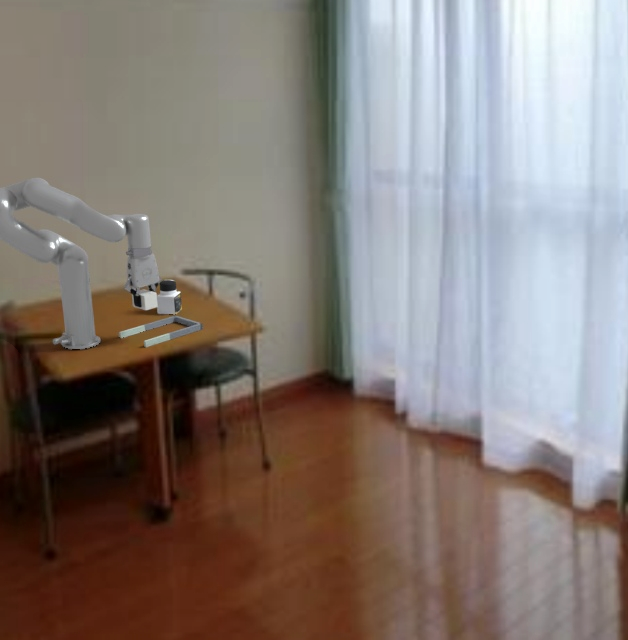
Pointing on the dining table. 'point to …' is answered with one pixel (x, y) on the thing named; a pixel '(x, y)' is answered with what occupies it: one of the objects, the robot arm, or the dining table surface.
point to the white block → (147, 299)
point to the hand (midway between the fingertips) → (145, 303)
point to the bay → (193, 328)
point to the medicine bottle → (168, 298)
